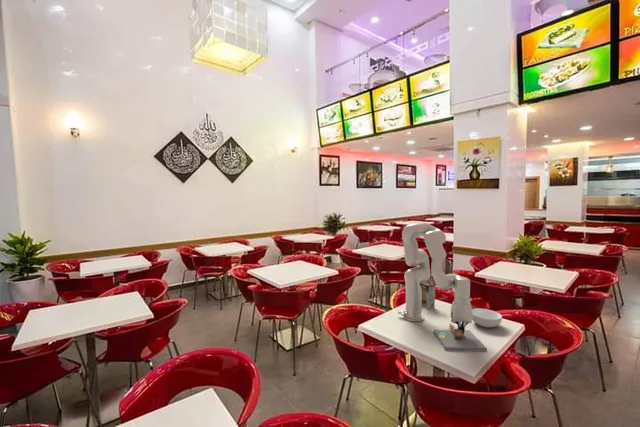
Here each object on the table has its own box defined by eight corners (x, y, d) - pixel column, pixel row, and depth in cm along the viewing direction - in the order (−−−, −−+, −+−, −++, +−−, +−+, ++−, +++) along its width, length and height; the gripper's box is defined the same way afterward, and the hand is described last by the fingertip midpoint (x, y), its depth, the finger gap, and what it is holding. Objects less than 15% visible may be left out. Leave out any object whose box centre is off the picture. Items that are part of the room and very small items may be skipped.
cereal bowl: (494, 334, 169) (495, 321, 169) (464, 324, 182) (465, 312, 181) (506, 325, 180) (506, 313, 179) (477, 316, 193) (477, 306, 192)
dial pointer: (463, 339, 159) (463, 332, 159) (455, 339, 159) (455, 332, 159) (454, 328, 172) (454, 321, 172) (446, 328, 172) (447, 321, 172)
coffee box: (418, 305, 214) (418, 282, 213) (425, 303, 217) (425, 281, 216) (427, 309, 206) (428, 286, 205) (435, 307, 208) (435, 284, 207)
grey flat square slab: (445, 350, 152) (445, 347, 152) (433, 332, 172) (433, 329, 172) (486, 351, 151) (486, 347, 151) (469, 332, 171) (469, 330, 171)
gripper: (472, 298, 168) (472, 330, 169) (445, 297, 169) (444, 329, 170) (479, 302, 160) (478, 336, 161) (450, 302, 161) (449, 336, 162)
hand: (461, 333), depth 166 cm, fingers closed
